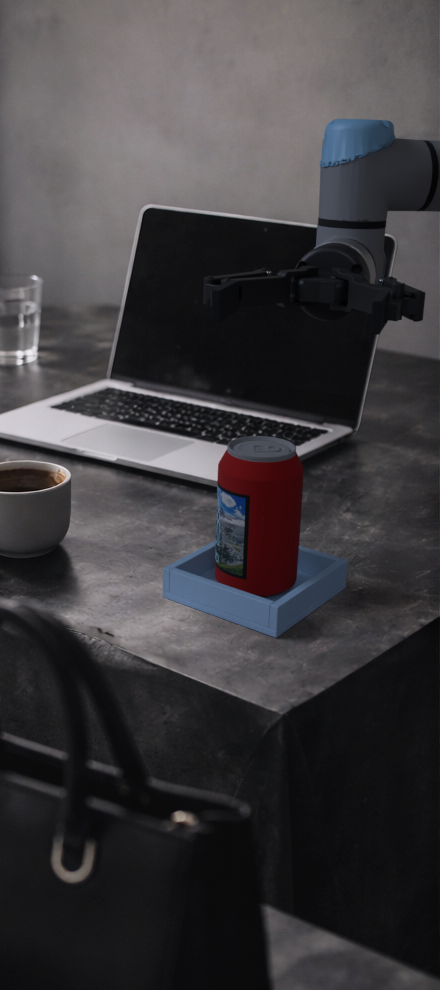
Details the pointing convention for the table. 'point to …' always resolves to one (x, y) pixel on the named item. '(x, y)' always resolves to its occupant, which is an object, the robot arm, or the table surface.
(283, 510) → the beverage can
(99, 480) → the table surface
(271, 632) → the tray
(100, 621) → the table surface
